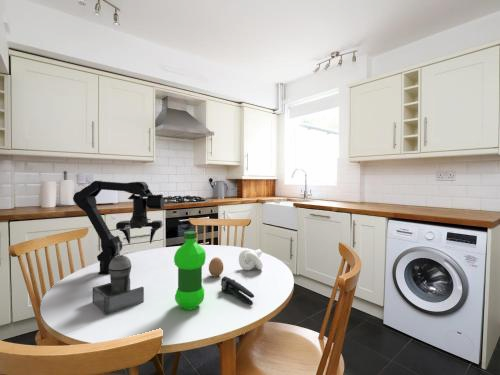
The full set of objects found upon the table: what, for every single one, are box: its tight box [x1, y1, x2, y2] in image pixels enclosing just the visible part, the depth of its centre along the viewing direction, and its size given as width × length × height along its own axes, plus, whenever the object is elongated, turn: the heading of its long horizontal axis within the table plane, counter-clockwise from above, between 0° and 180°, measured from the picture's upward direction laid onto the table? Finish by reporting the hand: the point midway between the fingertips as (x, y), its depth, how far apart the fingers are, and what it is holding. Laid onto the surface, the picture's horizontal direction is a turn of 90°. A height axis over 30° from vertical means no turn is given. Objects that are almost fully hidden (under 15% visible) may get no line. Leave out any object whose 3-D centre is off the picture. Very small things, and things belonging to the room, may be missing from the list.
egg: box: [208, 257, 224, 277], centre depth 115 cm, size 6×6×8 cm
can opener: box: [220, 276, 255, 306], centre depth 96 cm, size 18×7×6 cm, turn 39°
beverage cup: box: [108, 243, 132, 295], centre depth 90 cm, size 7×7×20 cm
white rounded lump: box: [238, 248, 264, 271], centre depth 126 cm, size 11×12×9 cm
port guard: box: [92, 277, 145, 316], centre depth 90 cm, size 12×12×5 cm
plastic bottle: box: [173, 230, 207, 311], centre depth 87 cm, size 10×10×25 cm
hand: (140, 243), depth 118 cm, fingers open, 9 cm apart
